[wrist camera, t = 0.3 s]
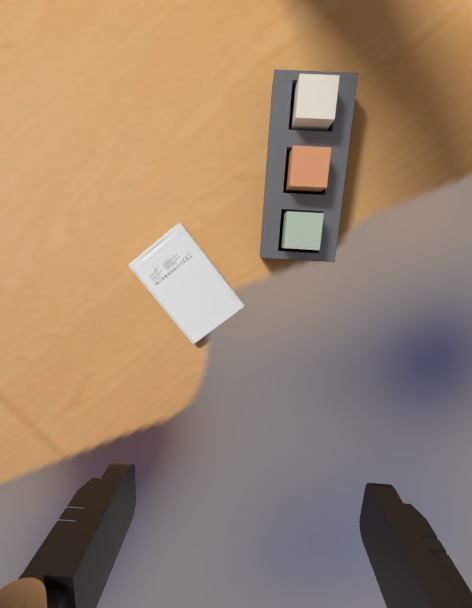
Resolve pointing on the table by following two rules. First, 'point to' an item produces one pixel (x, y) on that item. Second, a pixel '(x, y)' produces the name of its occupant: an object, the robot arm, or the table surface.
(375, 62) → the table surface
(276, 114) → the keypad
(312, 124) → the cream button
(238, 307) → the external hard drive
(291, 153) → the terracotta button
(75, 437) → the table surface
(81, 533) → the robot arm
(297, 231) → the sage button
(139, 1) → the table surface
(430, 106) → the table surface
